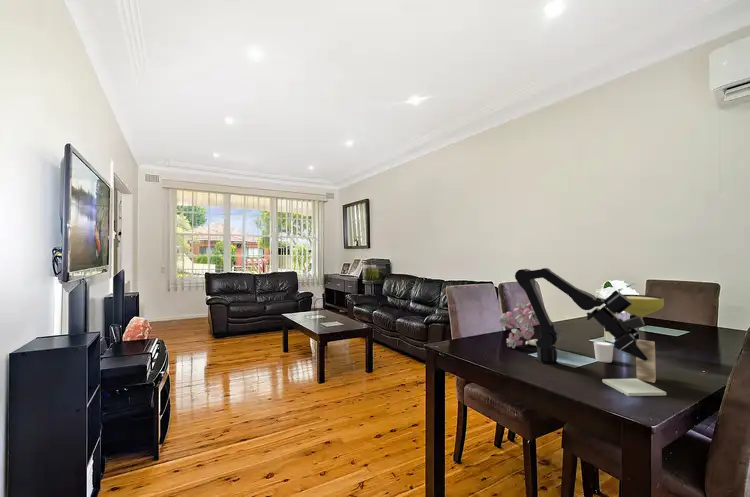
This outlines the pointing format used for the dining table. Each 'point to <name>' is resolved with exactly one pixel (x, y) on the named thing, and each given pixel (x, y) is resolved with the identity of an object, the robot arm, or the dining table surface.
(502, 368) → the dining table surface
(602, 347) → the shot glass
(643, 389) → the coaster board
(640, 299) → the cocktail glass
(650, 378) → the birch block
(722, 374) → the dining table surface
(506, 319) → the flower
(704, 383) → the dining table surface
